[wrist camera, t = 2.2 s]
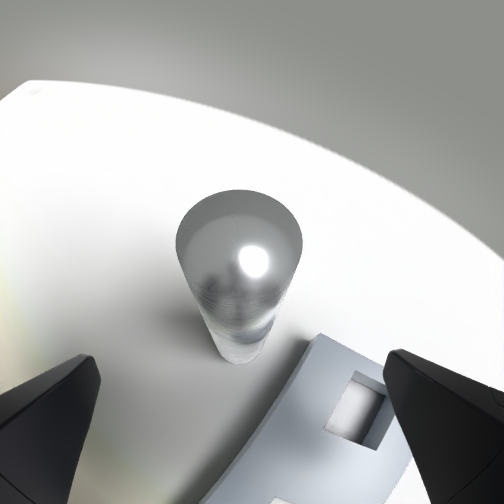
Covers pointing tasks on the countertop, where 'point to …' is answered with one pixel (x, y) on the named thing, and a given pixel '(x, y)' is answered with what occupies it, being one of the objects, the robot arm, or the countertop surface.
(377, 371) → the socket block
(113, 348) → the countertop surface
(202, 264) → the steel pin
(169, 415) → the countertop surface
